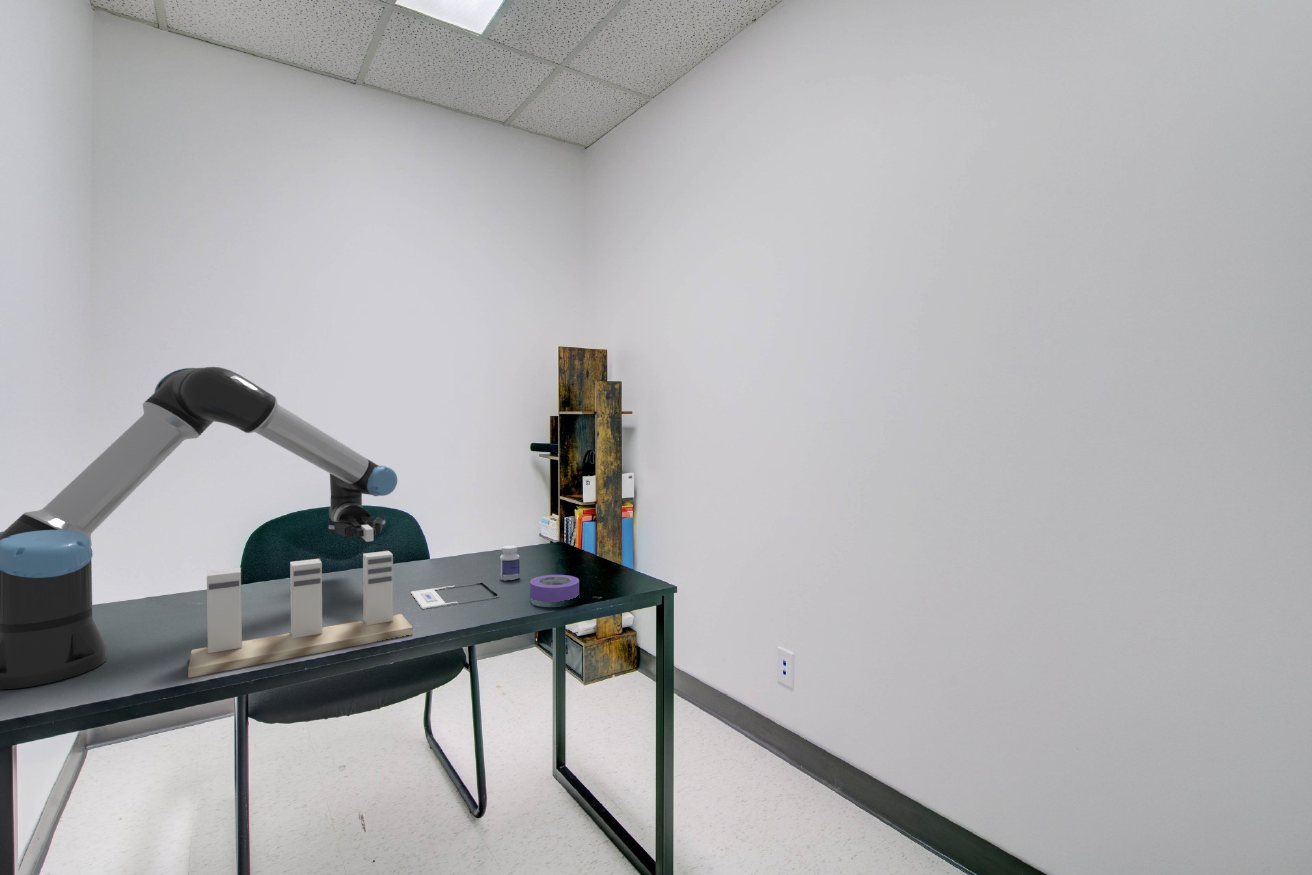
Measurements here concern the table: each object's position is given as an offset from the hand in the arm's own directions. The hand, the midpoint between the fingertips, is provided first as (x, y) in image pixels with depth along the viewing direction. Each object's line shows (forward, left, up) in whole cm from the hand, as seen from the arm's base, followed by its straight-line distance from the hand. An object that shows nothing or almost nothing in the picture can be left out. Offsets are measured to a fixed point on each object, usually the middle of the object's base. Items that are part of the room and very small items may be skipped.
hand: (369, 535), depth 134 cm
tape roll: (+39, -14, -18) cm, 45 cm away
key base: (-13, -14, -18) cm, 26 cm away
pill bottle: (+37, +10, -18) cm, 42 cm away
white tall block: (-13, -11, -16) cm, 24 cm away
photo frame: (+20, +3, -18) cm, 27 cm away
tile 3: (0, -11, -16) cm, 20 cm away
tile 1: (-26, -11, -16) cm, 33 cm away
